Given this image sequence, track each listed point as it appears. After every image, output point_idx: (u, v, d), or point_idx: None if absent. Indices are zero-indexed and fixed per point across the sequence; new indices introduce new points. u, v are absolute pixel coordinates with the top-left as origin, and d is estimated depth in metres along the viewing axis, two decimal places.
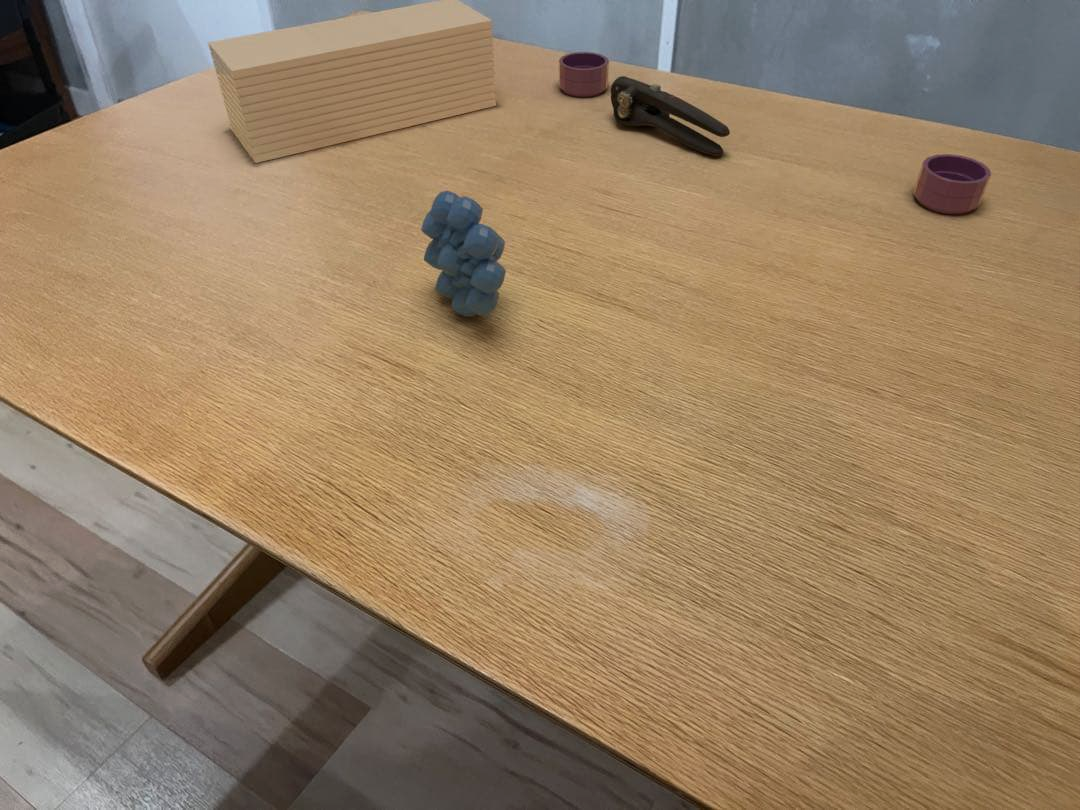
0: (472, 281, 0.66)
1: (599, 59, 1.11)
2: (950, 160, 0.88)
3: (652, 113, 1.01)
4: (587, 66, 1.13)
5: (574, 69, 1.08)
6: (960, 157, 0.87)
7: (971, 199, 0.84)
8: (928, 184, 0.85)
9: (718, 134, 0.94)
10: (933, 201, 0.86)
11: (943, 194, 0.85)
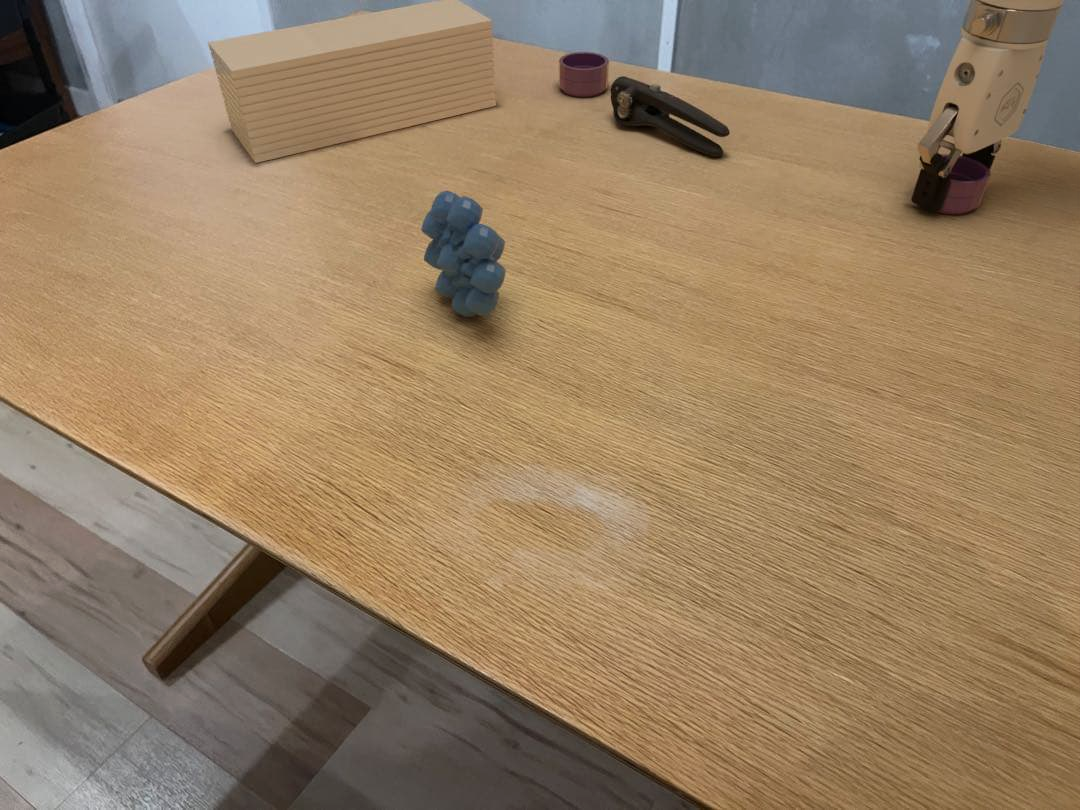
0: (472, 281, 0.66)
1: (599, 59, 1.11)
2: None
3: (652, 113, 1.01)
4: (587, 66, 1.13)
5: (574, 69, 1.08)
6: (960, 157, 0.87)
7: (971, 199, 0.84)
8: None
9: (718, 134, 0.94)
10: None
11: None
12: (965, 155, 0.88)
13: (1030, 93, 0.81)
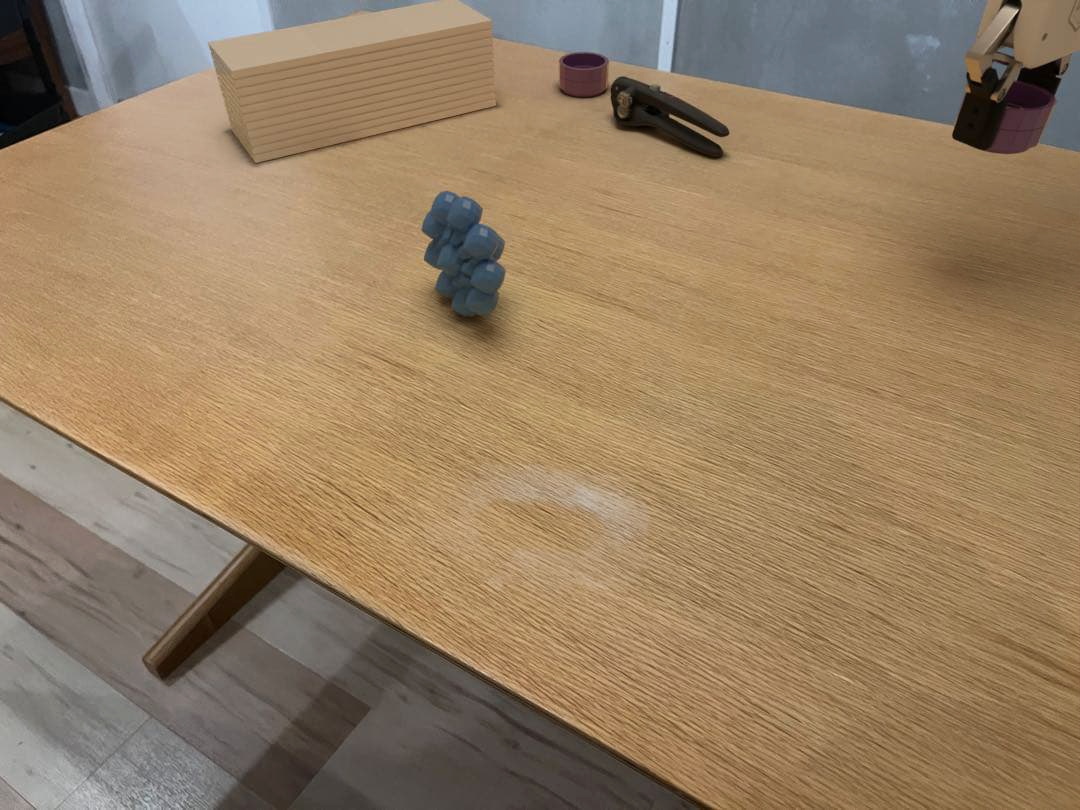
0: (472, 281, 0.66)
1: (599, 59, 1.11)
2: None
3: (652, 113, 1.01)
4: (587, 66, 1.13)
5: (574, 69, 1.08)
6: (1014, 82, 0.68)
7: (1031, 133, 0.65)
8: None
9: (718, 134, 0.94)
10: None
11: None
12: (1021, 79, 0.68)
13: None
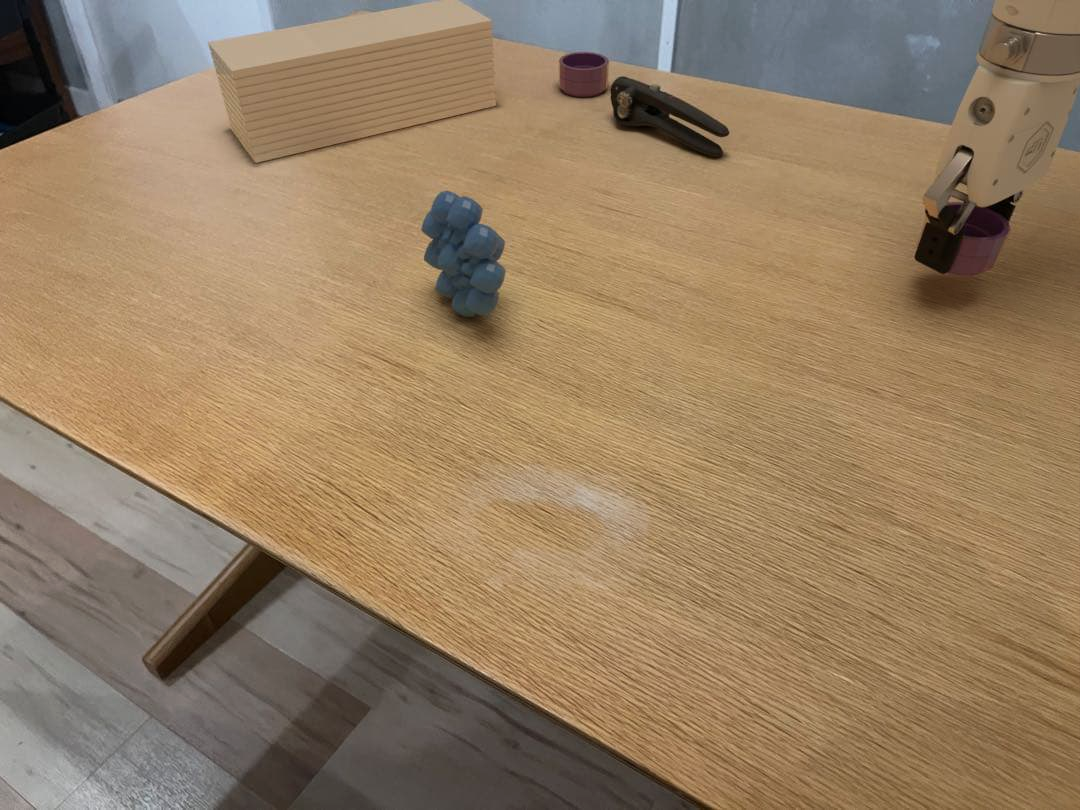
0: (472, 281, 0.66)
1: (599, 59, 1.11)
2: None
3: (652, 113, 1.01)
4: (587, 66, 1.13)
5: (574, 69, 1.08)
6: None
7: (986, 259, 0.70)
8: None
9: (718, 134, 0.94)
10: None
11: None
12: None
13: (1060, 133, 0.66)
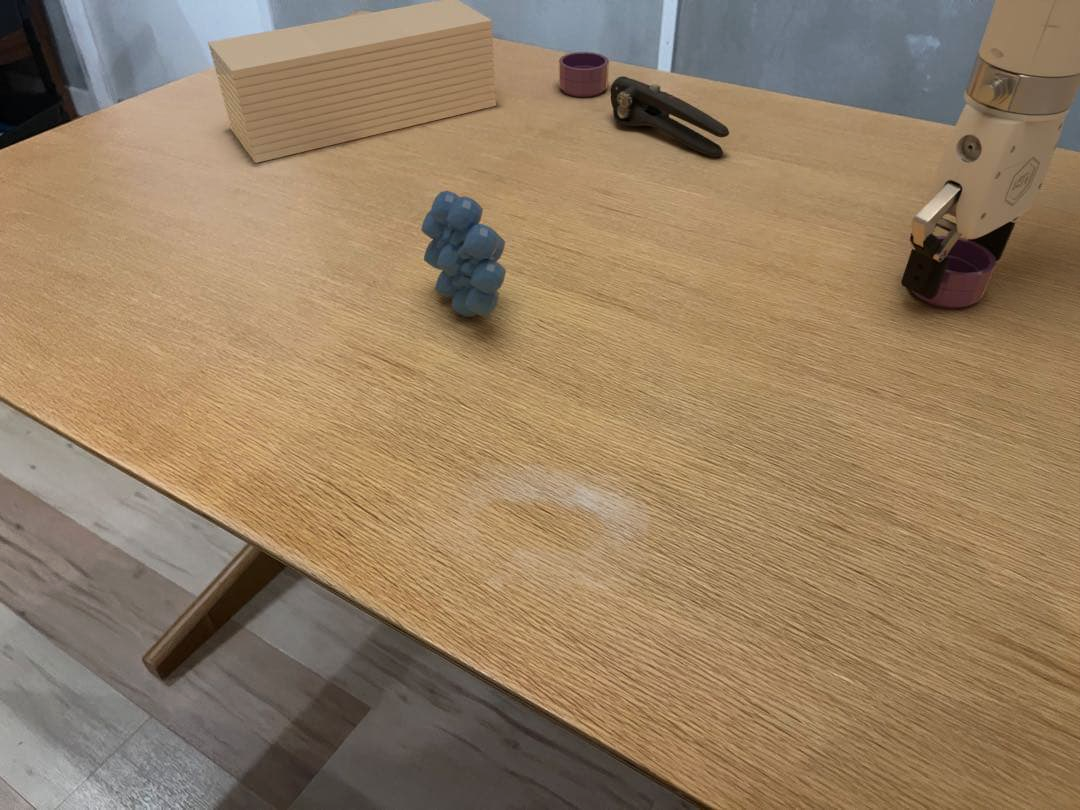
0: (472, 281, 0.66)
1: (599, 59, 1.11)
2: None
3: (652, 113, 1.01)
4: (587, 66, 1.13)
5: (574, 69, 1.08)
6: (960, 240, 0.75)
7: (973, 292, 0.72)
8: None
9: (717, 134, 0.94)
10: None
11: (940, 287, 0.72)
12: None
13: (1047, 166, 0.68)
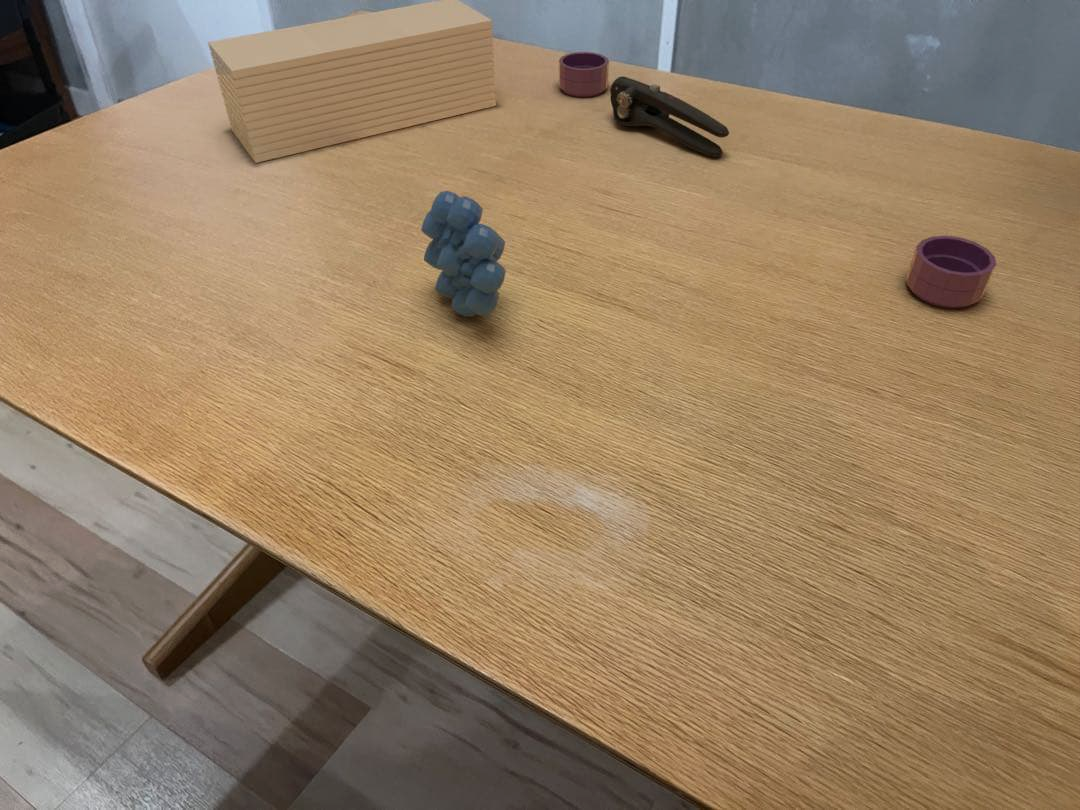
0: (472, 281, 0.66)
1: (599, 59, 1.11)
2: (948, 243, 0.76)
3: (652, 113, 1.01)
4: (587, 66, 1.13)
5: (574, 69, 1.08)
6: (960, 240, 0.75)
7: (973, 292, 0.72)
8: (923, 274, 0.73)
9: (717, 134, 0.94)
10: (928, 293, 0.73)
11: (940, 287, 0.72)
12: None
13: None
